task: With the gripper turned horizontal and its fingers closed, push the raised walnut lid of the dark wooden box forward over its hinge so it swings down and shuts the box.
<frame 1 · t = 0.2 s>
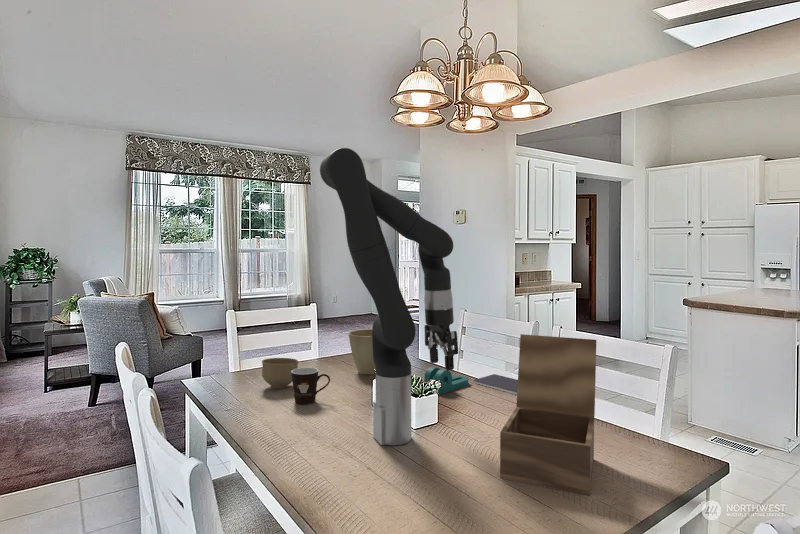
hand: (441, 366, 129), 18 cm above the table, tool pointing down, fingers open, 8 cm apart
coffee mug: (309, 402, 155), on the table
box lid: (555, 373, 118), point 19 cm above the table, hinge at 105.0°, touching wooden box
plant pot: (367, 372, 191), on the table
notebook: (507, 387, 172), on the table
bracket: (448, 388, 171), on the table
wooden box: (548, 468, 108), on the table
bowl: (280, 387, 171), on the table
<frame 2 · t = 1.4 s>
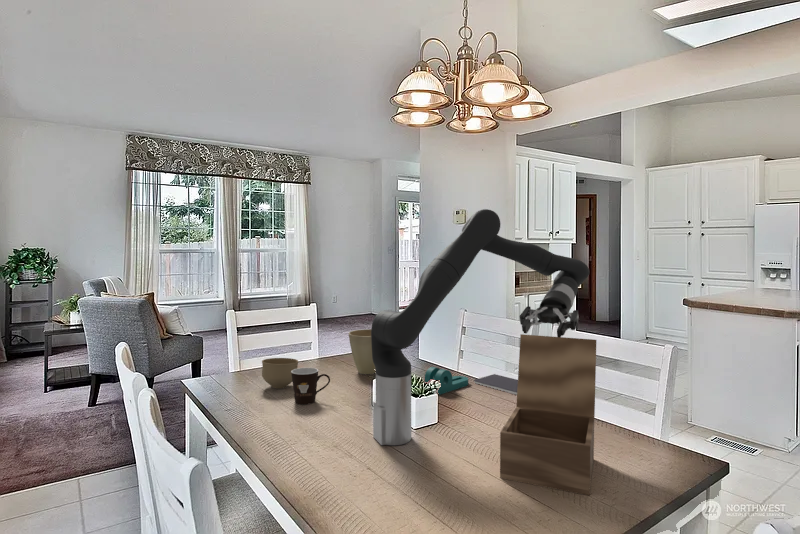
hand: (541, 332, 121), 28 cm above the table, tool tilted 70°, fingers open, 8 cm apart
nothing on the table moved.
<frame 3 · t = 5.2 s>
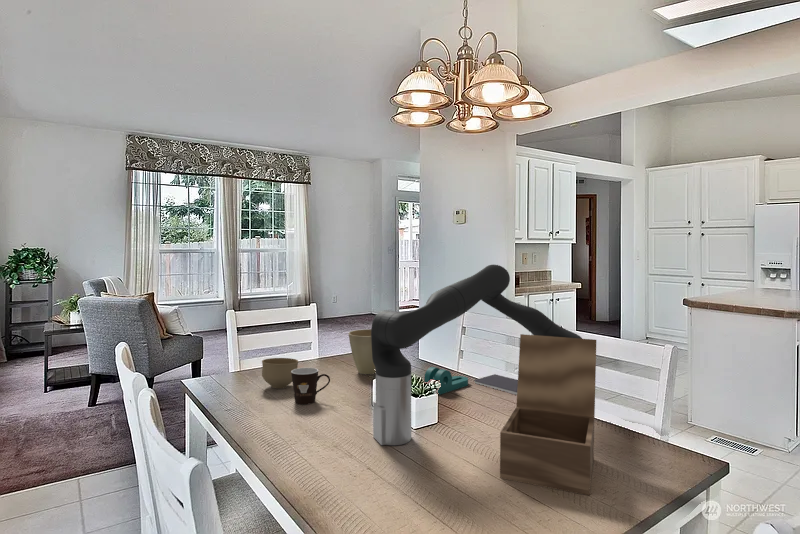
hand: (555, 375, 119), 18 cm above the table, tool horizontal, fingers closed
box lid: (555, 373, 118), point 19 cm above the table, hinge at 104.7°, touching gripper, wooden box
everything else where it was.
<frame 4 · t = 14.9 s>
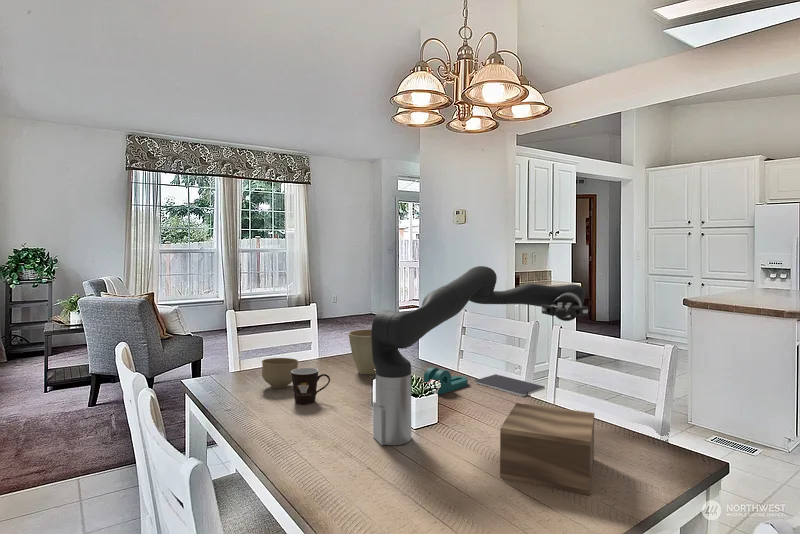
hand: (561, 314, 127), 32 cm above the table, tool horizontal, fingers closed
box lid: (549, 422, 108), point 10 cm above the table, hinge at 0.0°, touching wooden box
everything else where it was.
at the end: box lid at +0° (first picture: +105°) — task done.
